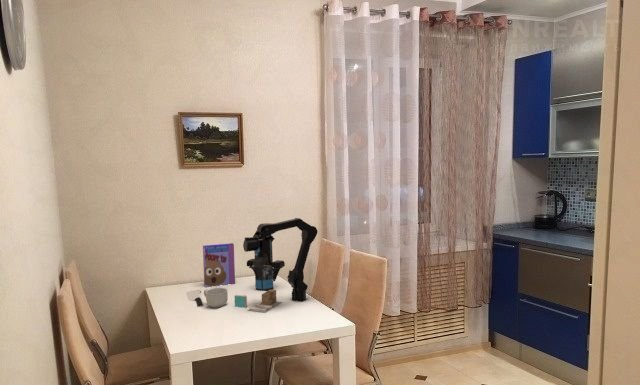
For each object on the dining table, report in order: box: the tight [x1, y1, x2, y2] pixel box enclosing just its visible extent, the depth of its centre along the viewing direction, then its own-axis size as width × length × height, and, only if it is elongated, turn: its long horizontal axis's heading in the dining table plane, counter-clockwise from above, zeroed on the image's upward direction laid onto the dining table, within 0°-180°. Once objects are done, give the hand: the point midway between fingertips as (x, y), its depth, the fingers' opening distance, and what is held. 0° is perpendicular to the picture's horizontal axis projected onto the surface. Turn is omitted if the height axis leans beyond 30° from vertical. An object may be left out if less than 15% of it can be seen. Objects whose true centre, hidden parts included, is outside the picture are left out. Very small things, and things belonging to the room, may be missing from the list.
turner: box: [250, 289, 277, 312], centre depth 219 cm, size 16×8×6 cm, turn 157°
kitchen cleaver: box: [185, 288, 204, 308], centre depth 237 cm, size 31×2×10 cm
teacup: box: [203, 287, 229, 309], centre depth 224 cm, size 14×11×8 cm
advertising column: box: [253, 235, 274, 292], centre depth 251 cm, size 11×11×30 cm
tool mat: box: [246, 300, 283, 314], centre depth 219 cm, size 10×18×1 cm, turn 157°
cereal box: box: [202, 243, 236, 288], centre depth 264 cm, size 17×5×24 cm, turn 111°
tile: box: [234, 294, 248, 308], centre depth 220 cm, size 6×2×6 cm, turn 68°
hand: (266, 280), depth 220 cm, fingers open, 9 cm apart
